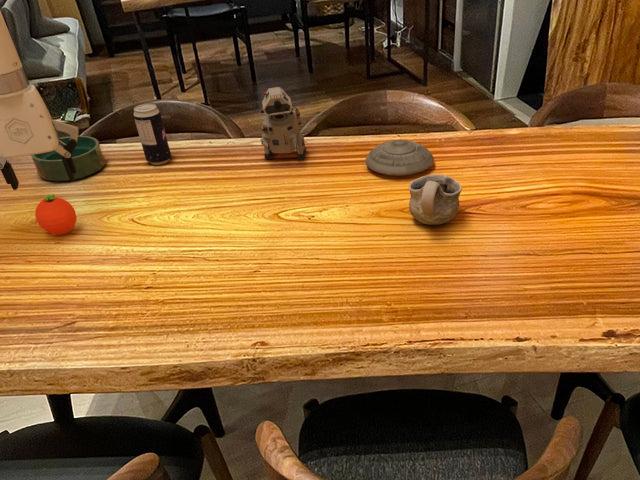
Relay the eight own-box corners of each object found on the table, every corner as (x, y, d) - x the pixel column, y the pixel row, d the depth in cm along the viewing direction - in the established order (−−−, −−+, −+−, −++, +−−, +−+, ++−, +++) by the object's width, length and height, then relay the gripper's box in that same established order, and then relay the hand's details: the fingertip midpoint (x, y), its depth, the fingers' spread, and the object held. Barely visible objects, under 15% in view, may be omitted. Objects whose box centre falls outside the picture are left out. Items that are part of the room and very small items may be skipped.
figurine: (259, 171, 137) (247, 100, 127) (270, 150, 145) (260, 82, 135) (299, 171, 136) (291, 100, 126) (308, 150, 145) (301, 82, 135)
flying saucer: (378, 149, 144) (377, 125, 140) (441, 156, 140) (442, 132, 136) (355, 176, 133) (354, 151, 130) (422, 184, 129) (423, 159, 126)
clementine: (45, 225, 121) (30, 190, 117) (82, 218, 123) (69, 184, 118) (42, 244, 116) (26, 209, 111) (81, 237, 117) (67, 202, 112)
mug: (458, 208, 121) (462, 158, 114) (461, 241, 112) (464, 188, 105) (409, 208, 122) (409, 158, 115) (407, 241, 112) (407, 188, 106)
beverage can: (173, 163, 142) (160, 109, 134) (148, 168, 140) (132, 113, 132) (170, 154, 146) (156, 101, 138) (145, 158, 144) (130, 105, 136)
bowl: (37, 187, 134) (28, 165, 131) (42, 162, 144) (33, 141, 141) (106, 176, 137) (98, 154, 134) (105, 153, 147) (98, 132, 144)
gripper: (-60, 97, 97) (-10, 199, 108) (57, 80, 100) (94, 181, 112) (-52, 83, 102) (-4, 182, 113) (59, 68, 106) (94, 165, 117)
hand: (44, 182), depth 113 cm, fingers open, 9 cm apart
